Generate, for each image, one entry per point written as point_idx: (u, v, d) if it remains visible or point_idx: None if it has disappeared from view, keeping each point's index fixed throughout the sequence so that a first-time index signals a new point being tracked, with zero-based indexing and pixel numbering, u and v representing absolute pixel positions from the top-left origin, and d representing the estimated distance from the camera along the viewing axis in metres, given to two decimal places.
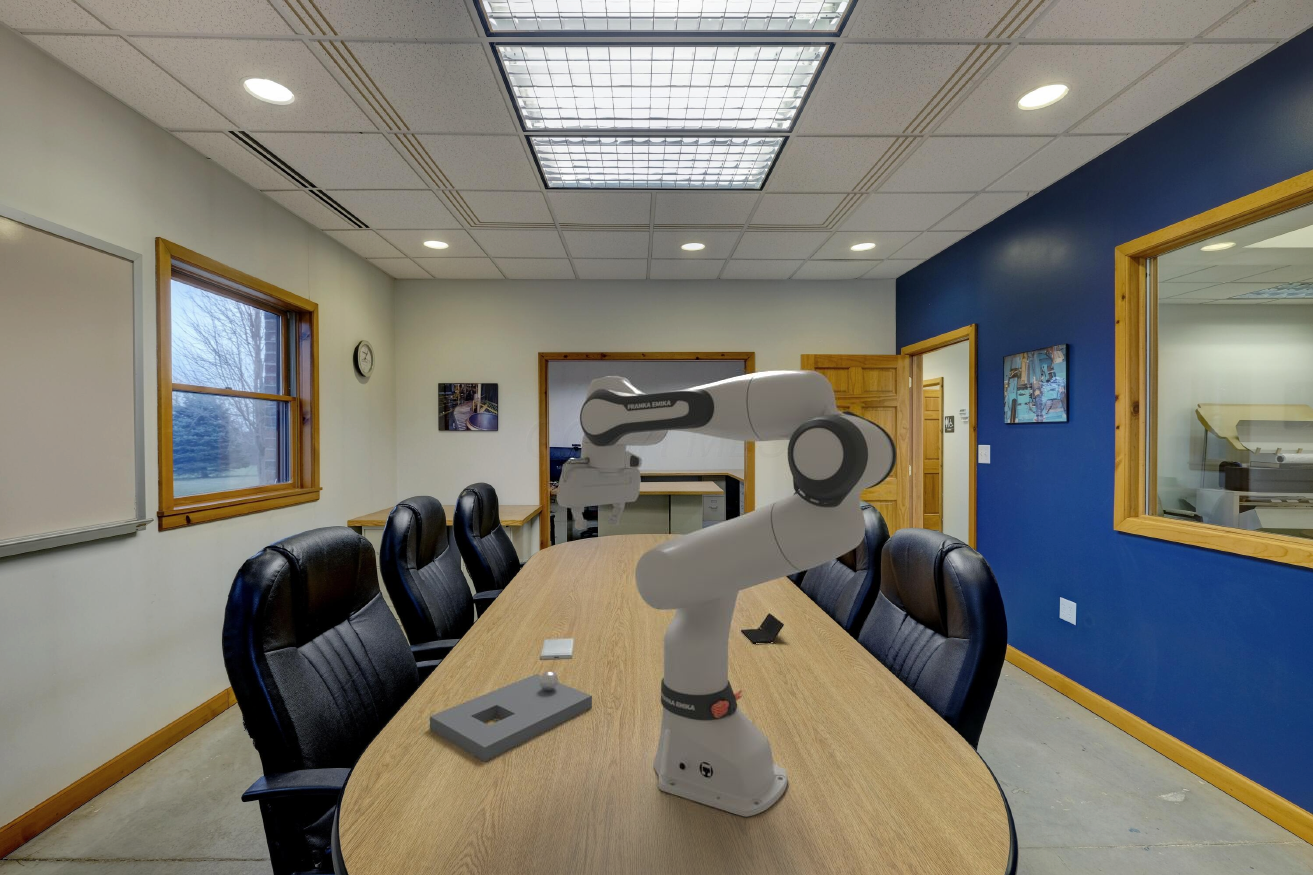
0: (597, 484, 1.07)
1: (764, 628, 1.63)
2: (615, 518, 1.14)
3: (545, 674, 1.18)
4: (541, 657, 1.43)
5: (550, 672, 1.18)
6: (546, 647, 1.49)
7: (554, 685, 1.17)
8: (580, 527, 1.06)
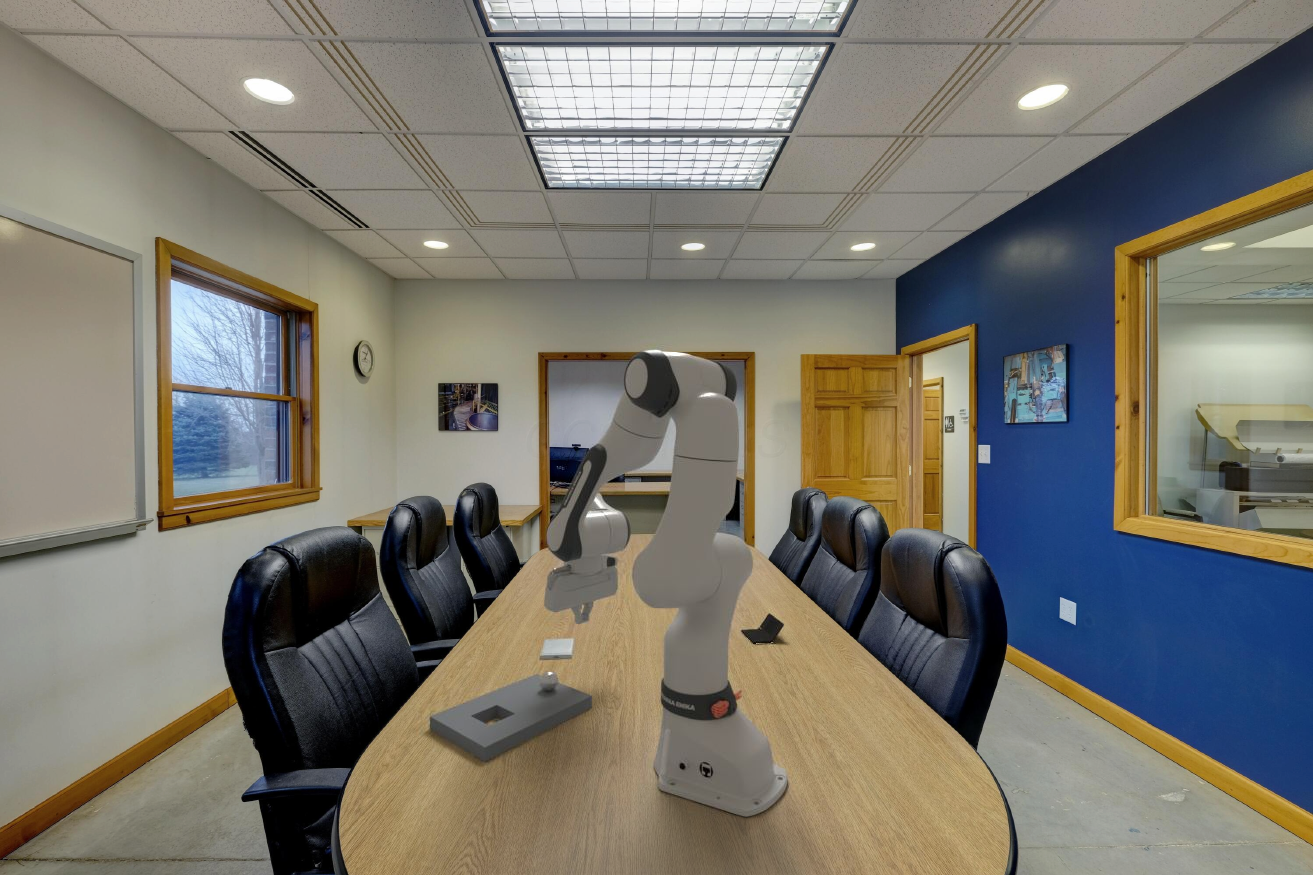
0: (579, 587, 1.24)
1: (764, 628, 1.63)
2: (585, 616, 1.27)
3: (545, 674, 1.18)
4: (541, 657, 1.43)
5: (550, 672, 1.18)
6: (546, 646, 1.49)
7: (554, 685, 1.17)
8: (579, 622, 1.25)
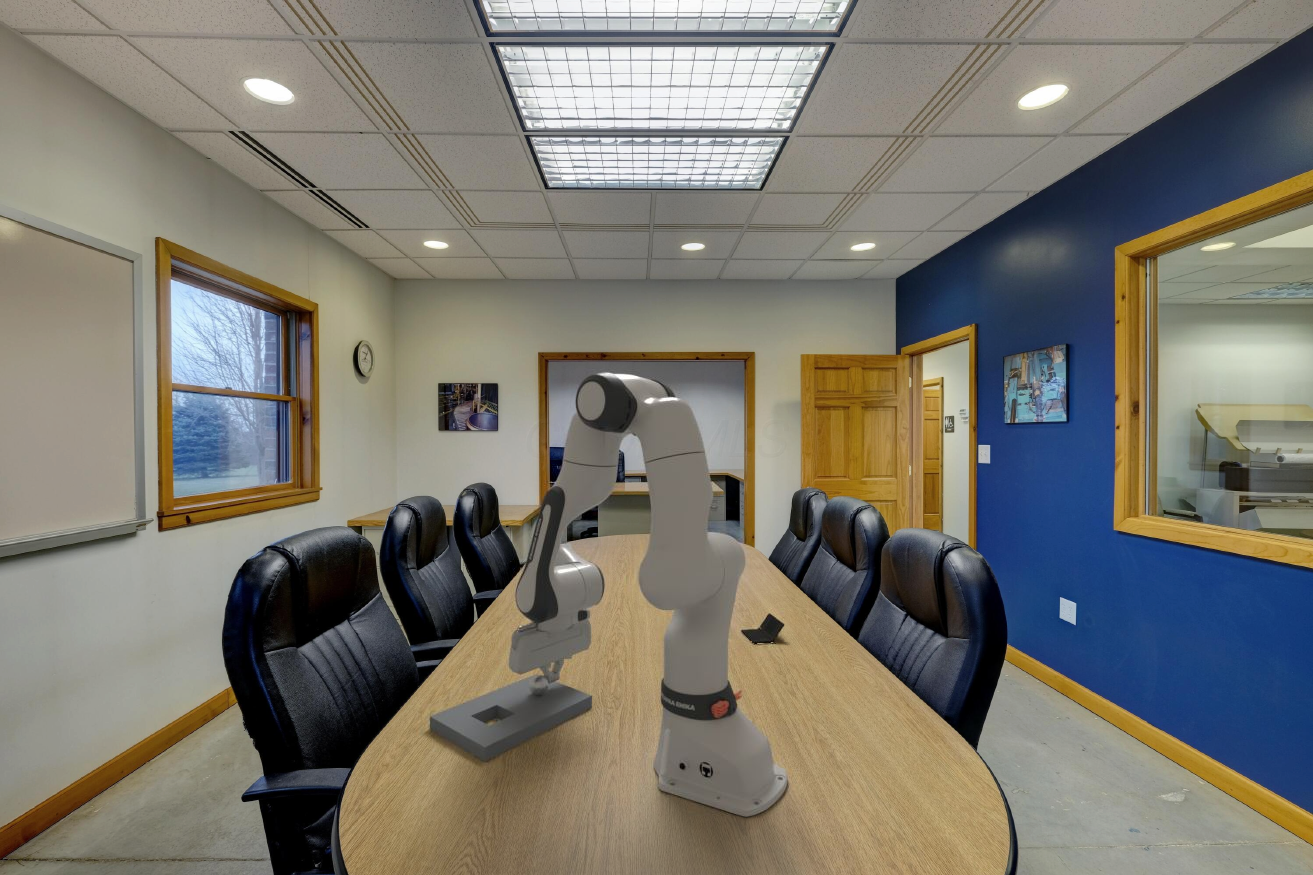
0: (547, 645, 1.17)
1: (764, 628, 1.63)
2: (555, 675, 1.19)
3: (531, 690, 1.15)
4: None
5: (532, 686, 1.15)
6: None
7: (545, 687, 1.16)
8: (548, 682, 1.18)
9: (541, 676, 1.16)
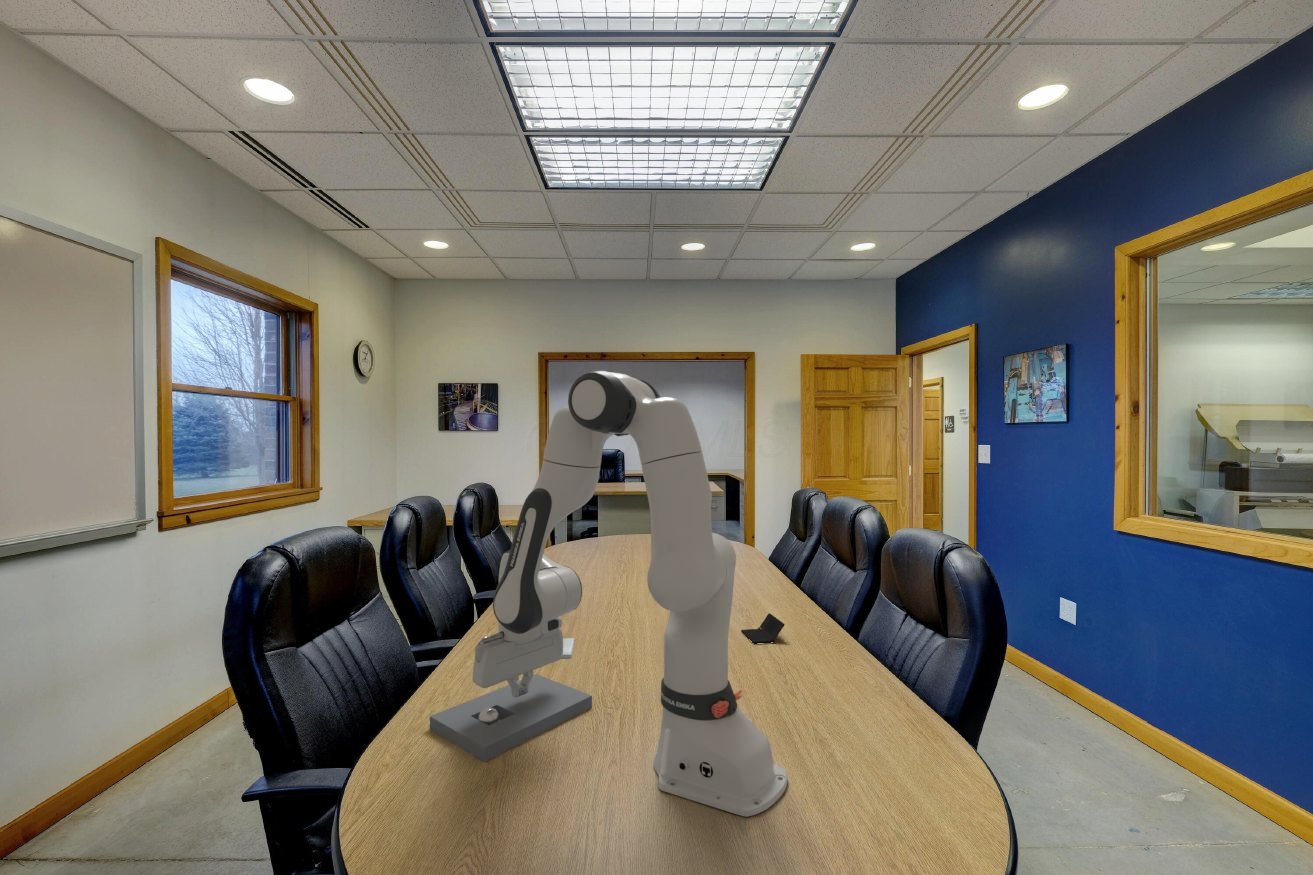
0: (514, 656, 1.10)
1: (764, 628, 1.63)
2: (523, 688, 1.12)
3: None
4: None
5: None
6: None
7: (496, 721, 1.06)
8: (516, 695, 1.11)
9: (488, 711, 1.06)
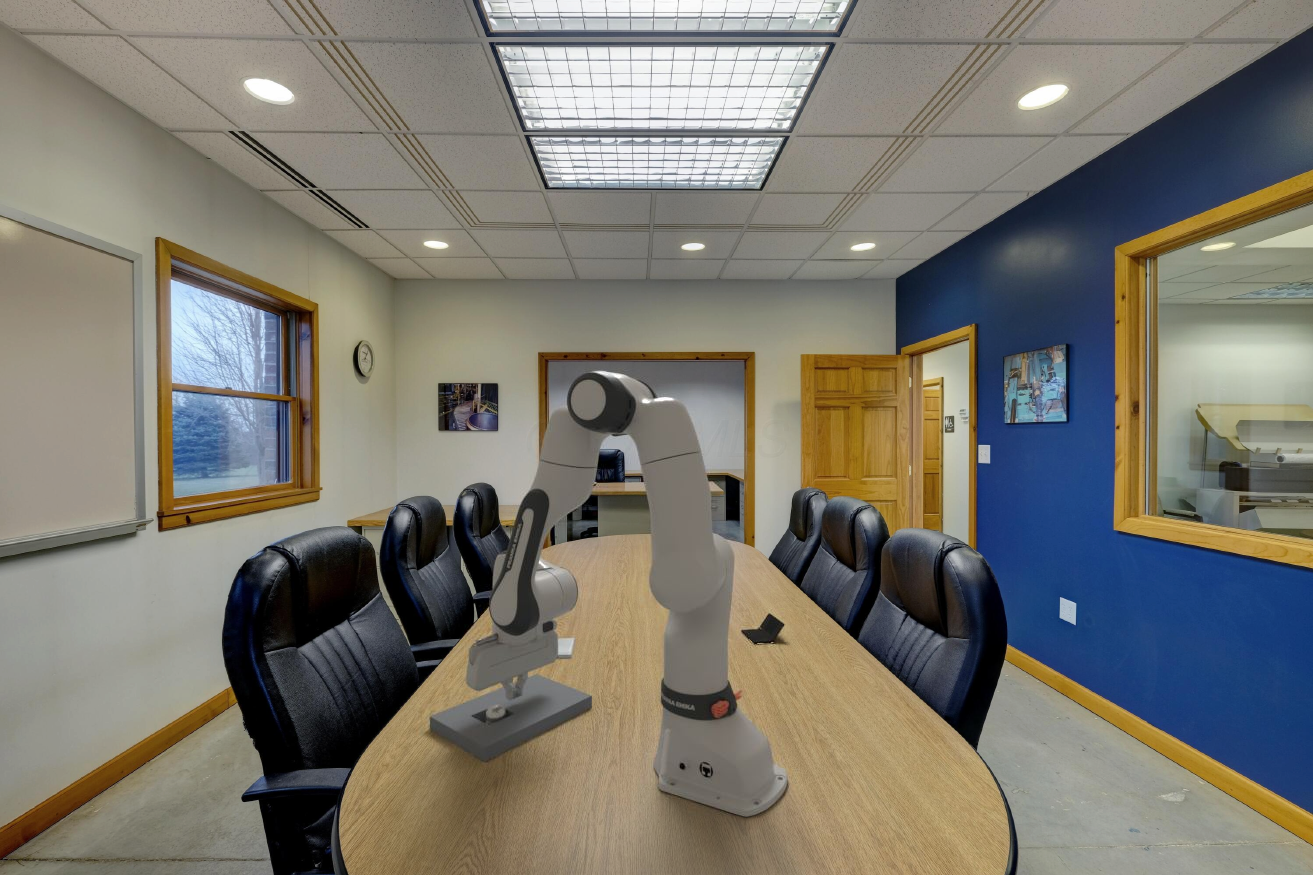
0: (508, 658, 1.09)
1: (764, 628, 1.63)
2: (517, 691, 1.11)
3: (487, 717, 1.07)
4: None
5: (490, 712, 1.07)
6: None
7: None
8: (510, 698, 1.10)
9: (502, 706, 1.09)
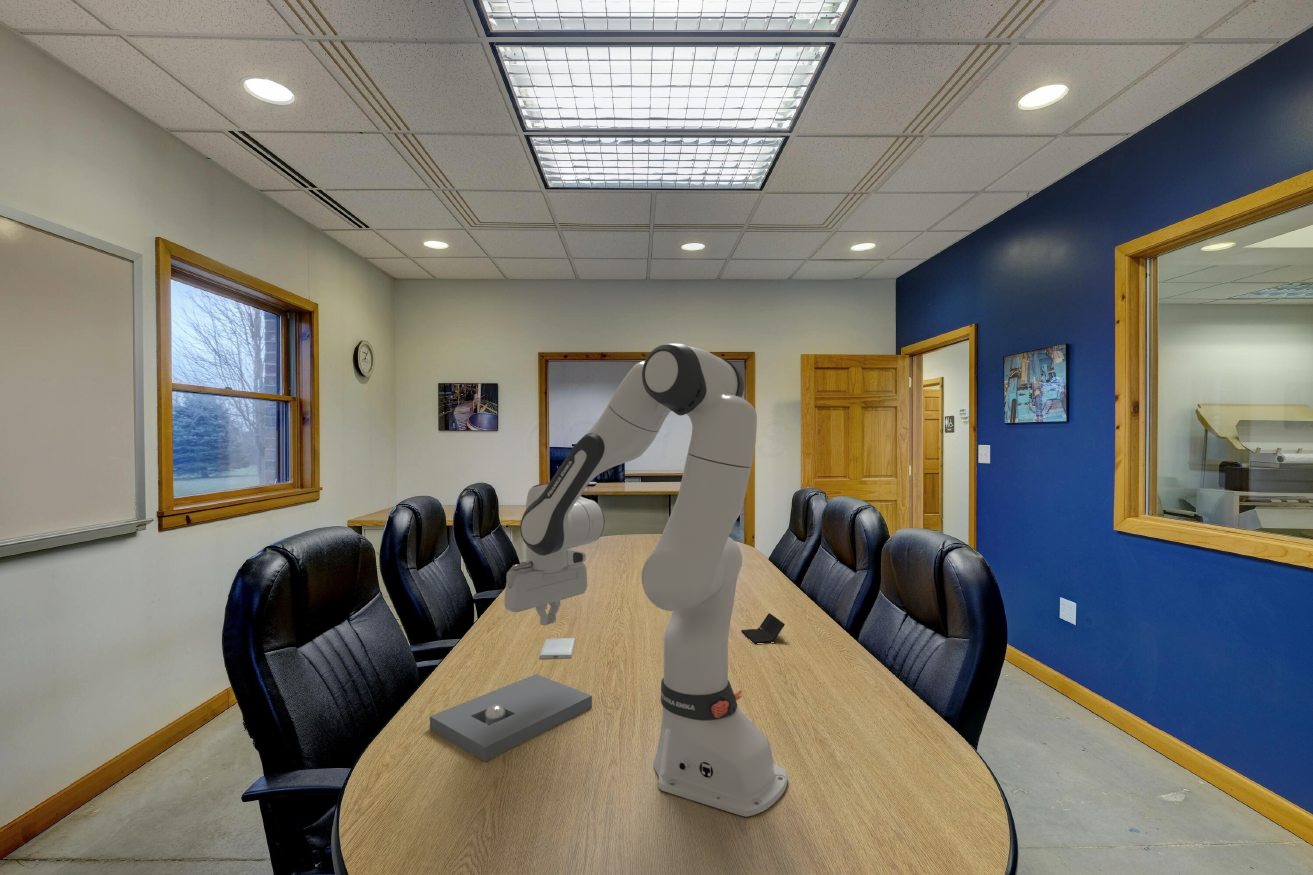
0: (543, 585, 1.16)
1: (764, 628, 1.63)
2: (551, 617, 1.18)
3: (486, 718, 1.07)
4: (540, 656, 1.43)
5: (489, 713, 1.07)
6: (546, 646, 1.49)
7: None
8: (545, 623, 1.17)
9: (501, 706, 1.08)
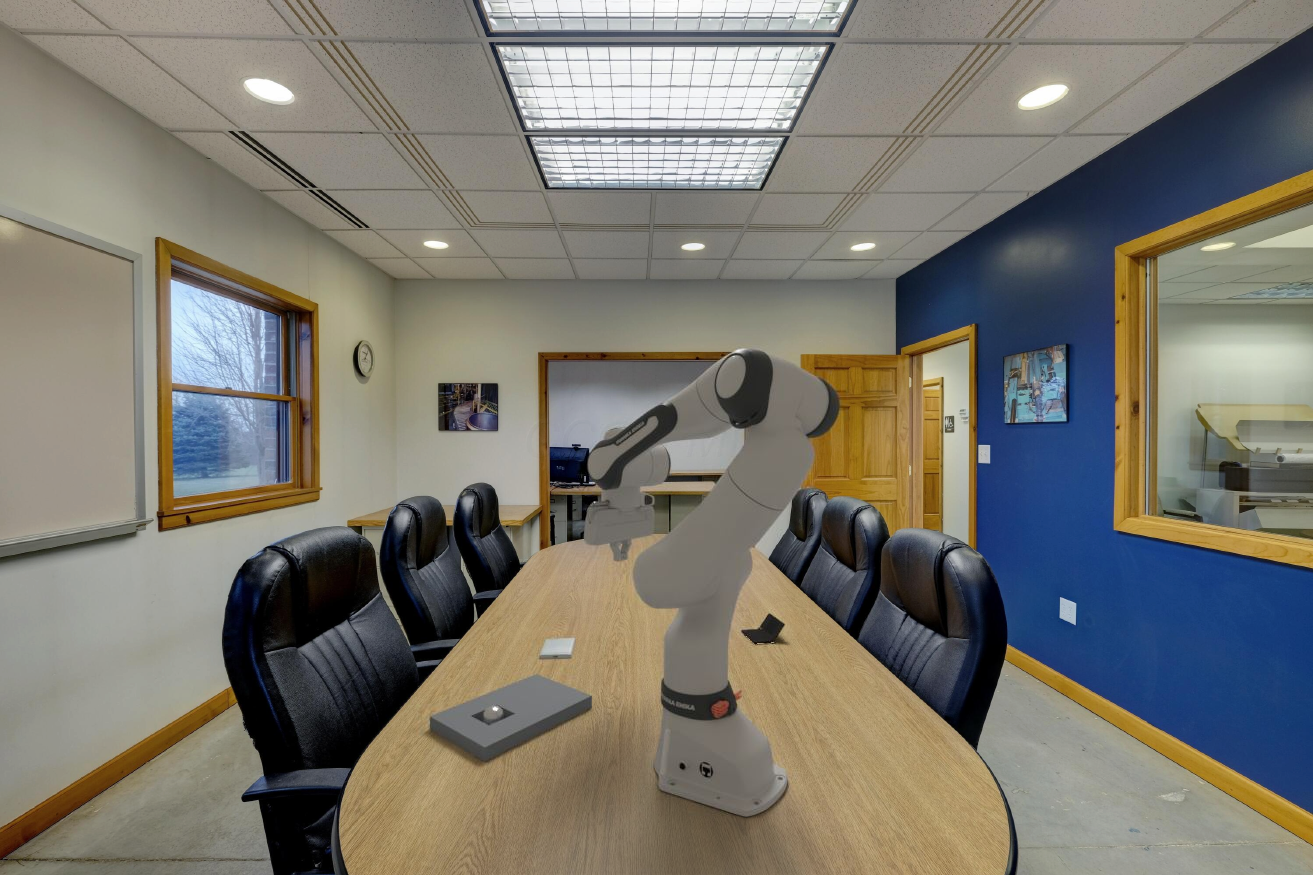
0: (618, 523, 1.22)
1: (764, 628, 1.63)
2: (624, 554, 1.25)
3: (484, 721, 1.06)
4: (540, 656, 1.43)
5: (486, 716, 1.06)
6: (546, 646, 1.50)
7: None
8: (618, 559, 1.24)
9: (497, 707, 1.08)
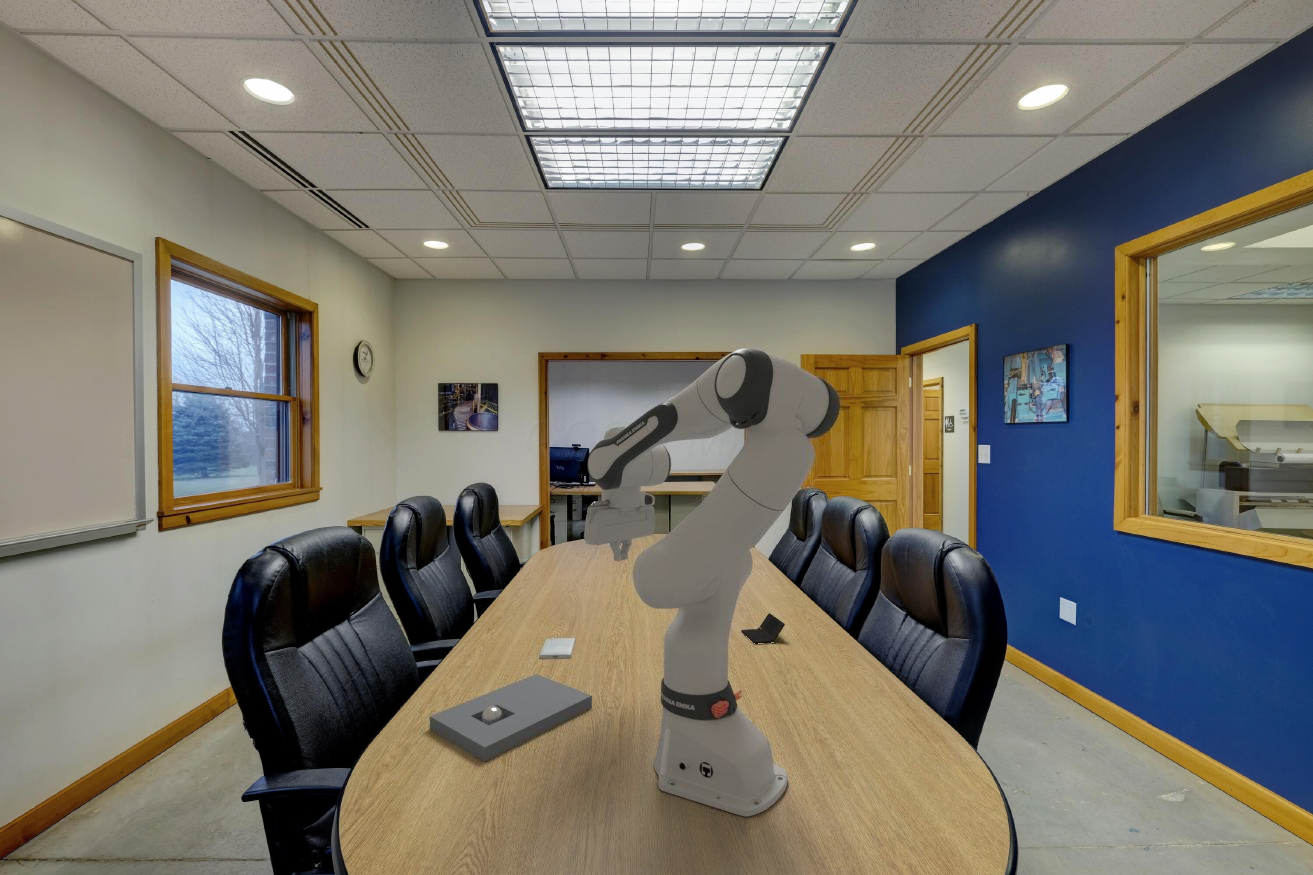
0: (618, 522, 1.22)
1: (764, 628, 1.63)
2: (624, 554, 1.25)
3: None
4: (540, 656, 1.43)
5: (484, 718, 1.06)
6: (546, 646, 1.50)
7: (499, 720, 1.07)
8: (618, 559, 1.24)
9: (495, 708, 1.07)
